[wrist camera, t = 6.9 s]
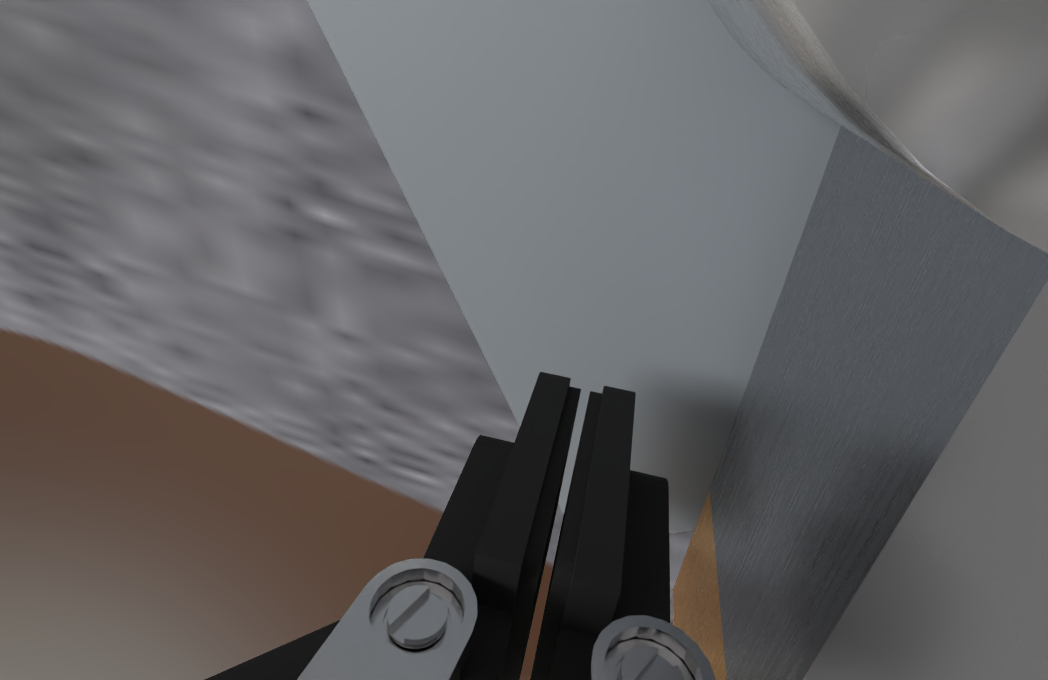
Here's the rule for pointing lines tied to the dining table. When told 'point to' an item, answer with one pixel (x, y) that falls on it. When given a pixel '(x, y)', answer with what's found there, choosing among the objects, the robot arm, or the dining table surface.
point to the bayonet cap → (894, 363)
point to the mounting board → (596, 198)
